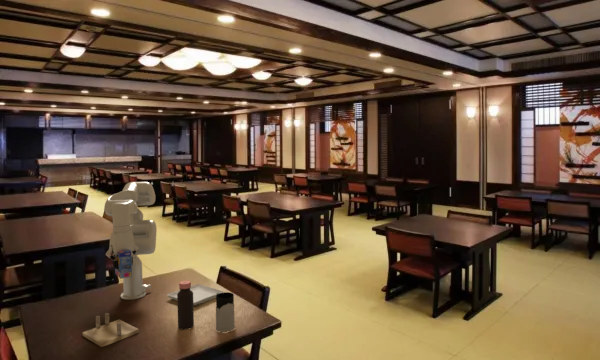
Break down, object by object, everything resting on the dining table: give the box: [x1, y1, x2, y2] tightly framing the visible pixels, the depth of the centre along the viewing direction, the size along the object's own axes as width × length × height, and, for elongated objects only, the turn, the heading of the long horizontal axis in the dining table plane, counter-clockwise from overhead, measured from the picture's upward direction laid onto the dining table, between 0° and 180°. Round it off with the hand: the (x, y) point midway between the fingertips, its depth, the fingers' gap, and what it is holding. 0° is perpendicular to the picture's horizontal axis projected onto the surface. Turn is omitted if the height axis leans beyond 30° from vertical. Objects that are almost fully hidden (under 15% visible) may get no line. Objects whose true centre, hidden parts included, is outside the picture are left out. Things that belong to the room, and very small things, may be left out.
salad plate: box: [166, 283, 224, 306], centre depth 213 cm, size 21×21×3 cm
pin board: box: [82, 312, 140, 348], centre depth 172 cm, size 16×16×6 cm
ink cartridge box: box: [114, 250, 132, 280], centre depth 189 cm, size 10×6×14 cm, turn 39°
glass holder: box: [215, 291, 236, 332], centre depth 179 cm, size 9×14×15 cm, turn 32°
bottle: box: [176, 280, 195, 330], centre depth 178 cm, size 7×7×20 cm
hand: (123, 266), depth 190 cm, fingers closed on ink cartridge box, 6 cm apart
